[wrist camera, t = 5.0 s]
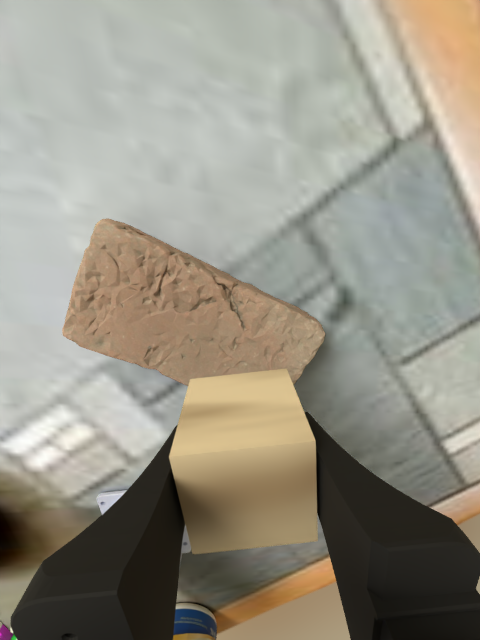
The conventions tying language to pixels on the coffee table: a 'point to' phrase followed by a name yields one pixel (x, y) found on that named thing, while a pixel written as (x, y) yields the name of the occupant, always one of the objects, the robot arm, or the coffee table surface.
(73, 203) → the coffee table surface
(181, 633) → the beverage bottle
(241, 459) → the oak cube
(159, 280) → the brick
